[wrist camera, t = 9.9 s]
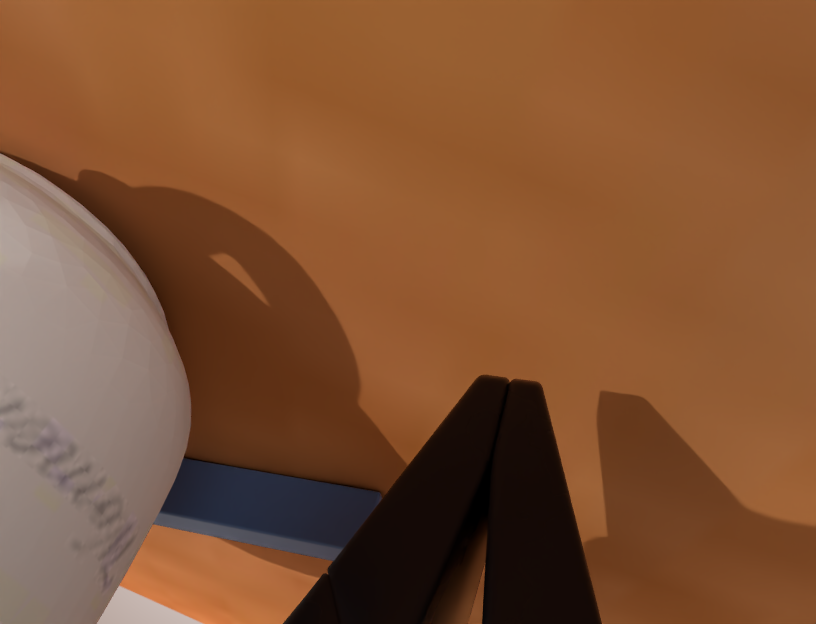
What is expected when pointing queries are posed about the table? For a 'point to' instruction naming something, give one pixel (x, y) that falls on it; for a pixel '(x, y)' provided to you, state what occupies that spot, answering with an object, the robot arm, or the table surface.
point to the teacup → (77, 405)
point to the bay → (265, 508)
